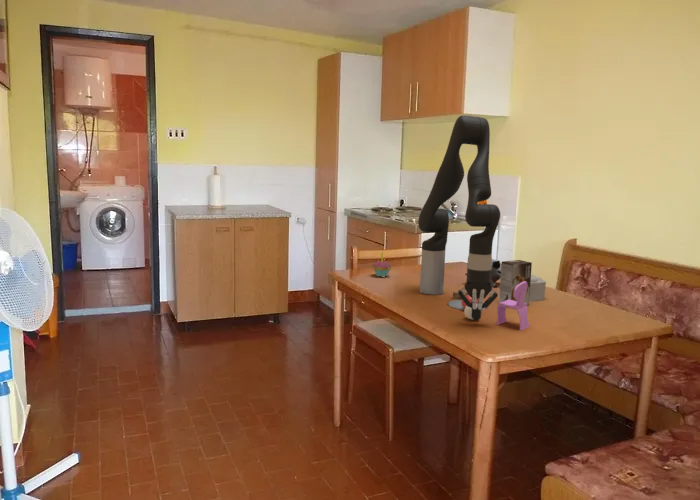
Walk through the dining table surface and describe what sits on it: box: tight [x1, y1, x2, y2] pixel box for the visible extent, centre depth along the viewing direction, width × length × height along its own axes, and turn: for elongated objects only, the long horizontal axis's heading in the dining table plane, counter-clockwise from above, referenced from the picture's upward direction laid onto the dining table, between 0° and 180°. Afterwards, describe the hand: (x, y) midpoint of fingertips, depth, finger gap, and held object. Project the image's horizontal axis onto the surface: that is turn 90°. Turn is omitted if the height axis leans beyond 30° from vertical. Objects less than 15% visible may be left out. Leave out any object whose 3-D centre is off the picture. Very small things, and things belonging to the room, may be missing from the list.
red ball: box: [461, 295, 478, 309], centre depth 192 cm, size 6×6×6 cm
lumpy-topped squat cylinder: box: [529, 274, 547, 302], centre depth 212 cm, size 10×13×9 cm
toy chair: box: [496, 281, 530, 331], centre depth 175 cm, size 8×9×15 cm
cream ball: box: [463, 304, 478, 321], centre depth 182 cm, size 6×6×6 cm
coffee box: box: [498, 259, 533, 306], centre depth 200 cm, size 9×6×16 cm
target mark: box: [447, 299, 487, 311], centre depth 199 cm, size 14×14×1 cm
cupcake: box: [371, 250, 392, 277], centre depth 243 cm, size 9×8×12 cm
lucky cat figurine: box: [464, 258, 502, 288], centre depth 231 cm, size 15×12×14 cm
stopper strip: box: [452, 291, 478, 301], centre depth 208 cm, size 10×2×2 cm, turn 82°
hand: (476, 319), depth 176 cm, fingers closed
